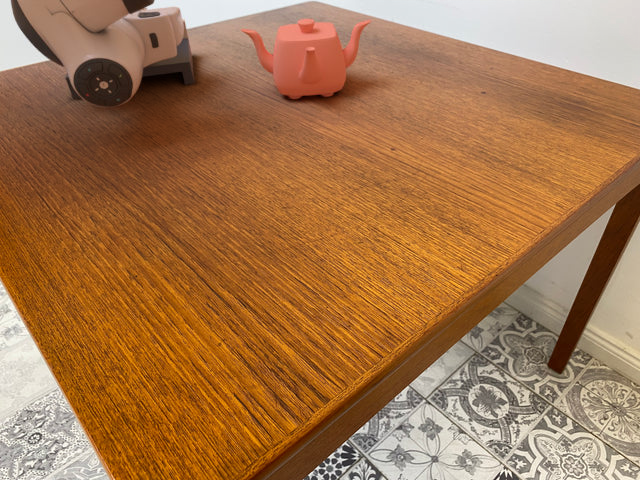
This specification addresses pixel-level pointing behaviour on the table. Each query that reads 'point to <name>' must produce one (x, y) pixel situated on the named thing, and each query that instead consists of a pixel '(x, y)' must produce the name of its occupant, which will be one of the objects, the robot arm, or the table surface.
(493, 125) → the table surface
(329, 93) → the teapot
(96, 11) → the robot arm
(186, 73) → the rack
